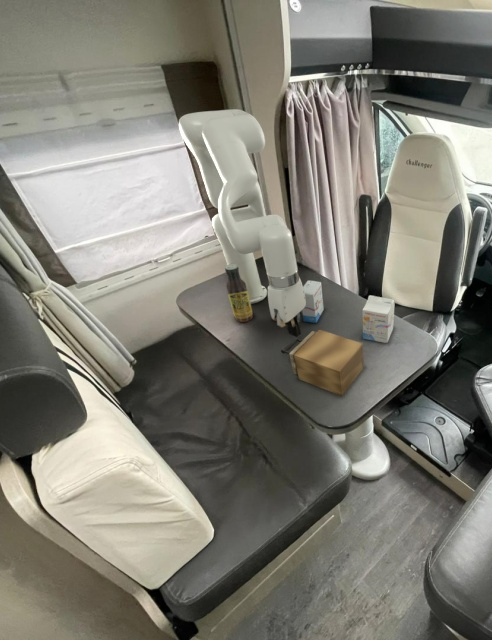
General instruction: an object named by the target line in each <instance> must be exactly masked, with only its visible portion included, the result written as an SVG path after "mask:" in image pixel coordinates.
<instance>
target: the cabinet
mask: <svg viewBox="0 0 492 640" xmlns="http://www.w3.org/2000/svg"><path fill="white" fill-rule="evenodd" d="M315 332H316V333H315V334H314V335H313V336H312V337H311V338H310V339H309V340H308V341H307V342H306V343H305V344H304V345H303V346H302V347H301V348H300V349H299V350H298V351H297V352H296V353H295V354H294V358H295V363H296V367H297V372H298V374H297V376H298V380H300V381H302V382H305V383H307V384H310V385H312V386H315V387H318V388H320V389H323V390H325V391H327V392H331V393H333V394H336V395H338V396H341V397H343V396H344V395H345V393H346V392H347V391H348V389H349V388H350V386H351V385H352V384H353V383H354V381H355V380H356V378H357V377H358V376H359V374H361V371H363V370H364V348H363V347H364V346H363V345H364V343H362V342H358V341H356V340H353V339H349V338H346V337H343V336H341V335H337V334H334V333H331V332H329V331H325V330H323V329H318V330H317V331H315Z"/></svg>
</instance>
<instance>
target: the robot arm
mask: <svg viewBox="0 0 492 640" xmlns="http://www.w3.org/2000/svg"><path fill="white" fill-rule="evenodd" d="M178 129H179V132H180V135H181V137H182V139H183V141H184V143H185V145H186V146H187V148H188V149H189V150H190V152H191V153H192V155H193V156H194V158H195V160H196V162H197V164H198V166H199V171H200V174H201V177H202V181H203V183H204V187H205V190H206V194H207V196H208V199H209V201H210V204H211V205H212V206H213V207H214V208H216V209H217V211H218V213H216V214H215V215H214V216H213V217H212V218H211V226H212V229H213V233H214V234H215V237H216V238H217V240H218V242H219V244H220V247H221V250H222V253H223V256H224V259H225V262H226V265H228V264H236V265H238V268H239V275H240V278H241V279H242V280H243V281H244V282H245V283H246V288H247V291H248V295H249V299H250V304H251V305H254V304H257V303H260V302H261V301H263V300H264V299H266V297H267V300H268V307H269V312H270V317H271V319H272V320H273V319H274V320H275V319H276V318H277V321H276V326H277V327H279V328H284V327H287V333H288V335H290V336H293V337H294V338H295V337H298V338H299V336H300V335H302V331H301V326H300V322H301V313H302V310H303V309H304V307H305V306H306V299H305V293H304V289H303V286H304V285H303V283H302V282H303V281H302V280H301V277H300V276H299V270H298V268H299V267H298V264H297V259H296V253H295V246H294V241H293V235H292V232H291V230H290V229H289V228H288V226H287V223H286V220H284V219H283V218H282V217H281V216H280V215H278V214H276V213H275V214H273V213H272V214H267V213H266V208H265V204H264V203H265V202H264V199H263V193H262V189H261V186H260V183H259V180H258V178H259V176H258V172H257V170H256V169H255V166H254V164H253V162H252V160H251V158H250V156H249V155H250V154H258V153H261V152H263V151H264V149H265V147H266V137H265V133H264V131H263V129H262V126H261V124H260V123H259V121H258V120H257V118H256V117H255V116H253V115H252V114H250V113H249V112H247V111H244V110H243V109H239V108H238V109H237V108H234V109H233V108H232V109H221V110H208V111H197V112H191V113H187V114H184V115H182V116H181V117H180V118H179V119H178ZM246 205H248V206H246ZM242 206H244V207H242ZM238 207H240V208H238ZM231 208H232V209H231ZM233 208H235V209H233ZM260 251H261V254H262V259H263V263H264V267H265V270H266V276H267V279H268V284H269V285H268V286H267V288H266V287H265V286H264V285H262V283H261V279H260V275H259V271H258V266H257V264H256V259H255V255H254V253H256V252H260ZM274 320H273V321H274Z"/></svg>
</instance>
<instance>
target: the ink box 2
mask: <svg viewBox="0 0 492 640" xmlns="http://www.w3.org/2000/svg"><path fill="white" fill-rule="evenodd" d="M395 303H396V301H395V299H392V298H389V297H382V296H381V297H380V296H376V295H371V294H370V295H368V297H367V301H366V302H365V304H364V306H363V308H362V339H363V340H368V341H373V342H379V343H384V344H388V342H389V340H390V337H391V335H392V333H393V330H394V323H395V322H394V321H395Z"/></svg>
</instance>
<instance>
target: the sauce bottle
mask: <svg viewBox="0 0 492 640" xmlns="http://www.w3.org/2000/svg"><path fill="white" fill-rule="evenodd" d="M224 270H225V273H226V276H227V283H226V286H225V287H226V290H227V295H228V299H229V303H230V306H231V311H232V313H233V316H234V319H235V321H236V322H239V323H246V322H249V321H252V319H253V316H254V314H253V308H252V304H250V299H249V295H248V291H247V288H246V283H245V282H244V281H243V280H242V279H241V278H240V275H239V268H238V265H236V264H228V265H227V264H226V265H225V266H224Z"/></svg>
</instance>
